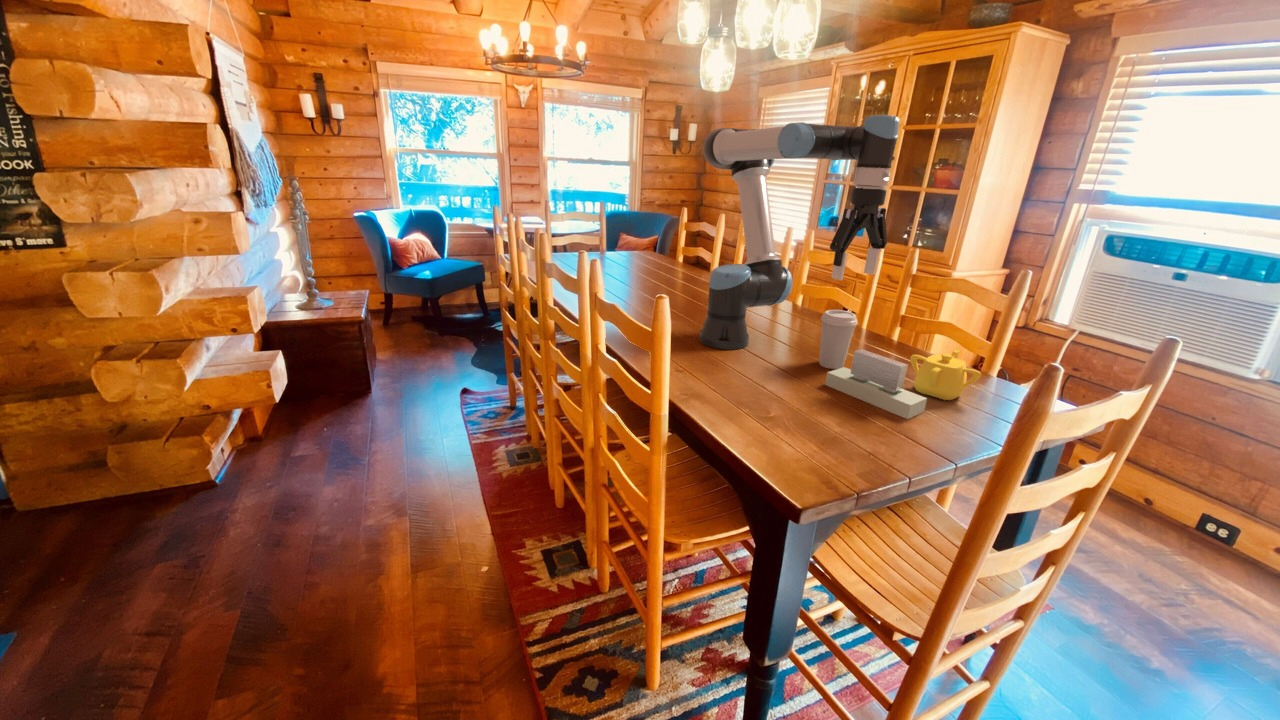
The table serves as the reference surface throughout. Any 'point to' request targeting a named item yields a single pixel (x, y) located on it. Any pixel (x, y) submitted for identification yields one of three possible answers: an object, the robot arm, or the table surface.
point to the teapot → (942, 375)
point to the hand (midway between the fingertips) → (853, 276)
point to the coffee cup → (836, 337)
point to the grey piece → (879, 371)
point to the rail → (876, 394)
